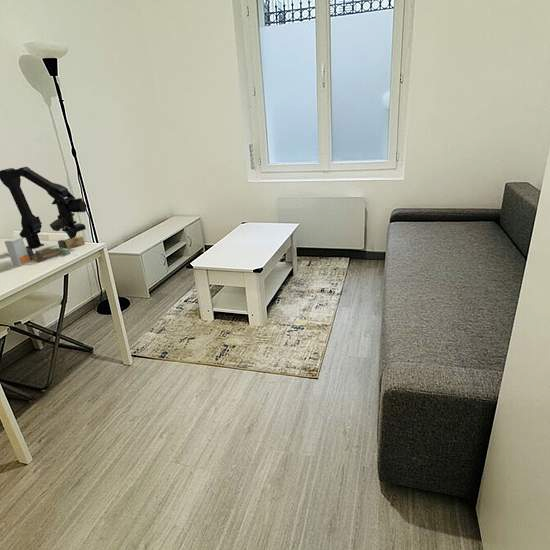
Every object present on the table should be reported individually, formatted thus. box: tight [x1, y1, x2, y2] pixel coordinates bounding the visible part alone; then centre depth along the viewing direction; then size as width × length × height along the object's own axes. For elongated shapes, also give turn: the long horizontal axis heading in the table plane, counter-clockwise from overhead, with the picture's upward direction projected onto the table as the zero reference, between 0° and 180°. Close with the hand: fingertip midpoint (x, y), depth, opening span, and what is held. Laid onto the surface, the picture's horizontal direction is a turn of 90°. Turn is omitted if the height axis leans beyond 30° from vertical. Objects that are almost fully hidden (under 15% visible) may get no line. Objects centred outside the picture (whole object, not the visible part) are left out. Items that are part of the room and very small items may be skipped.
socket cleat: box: [57, 247, 71, 256], centre depth 187 cm, size 7×2×2 cm, turn 59°
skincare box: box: [4, 236, 31, 267], centre depth 176 cm, size 6×4×12 cm
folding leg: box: [57, 235, 86, 250], centre depth 195 cm, size 12×4×5 cm, turn 143°
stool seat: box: [26, 247, 63, 263], centre depth 185 cm, size 11×13×4 cm
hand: (73, 241), depth 199 cm, fingers closed
